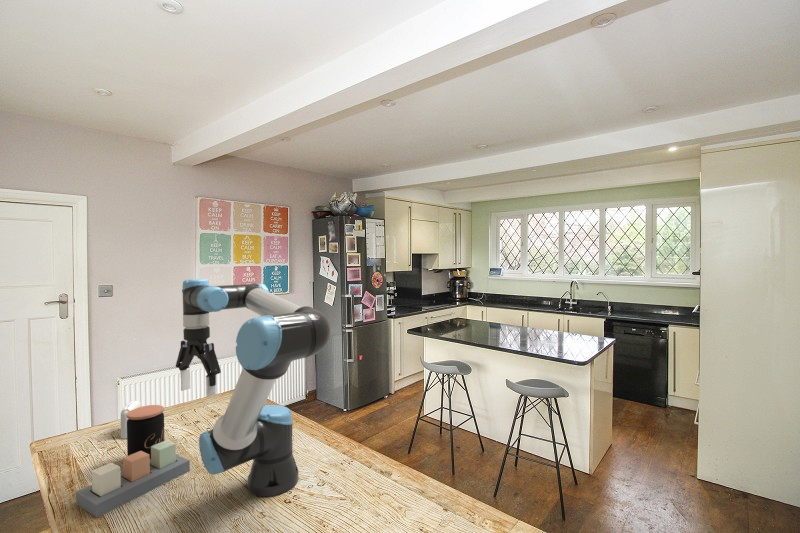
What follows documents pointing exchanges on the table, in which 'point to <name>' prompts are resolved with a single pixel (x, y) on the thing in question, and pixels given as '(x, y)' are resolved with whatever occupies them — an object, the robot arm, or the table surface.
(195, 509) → the table surface
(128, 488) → the slate panel
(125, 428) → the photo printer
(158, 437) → the coffee jar
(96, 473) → the cream button
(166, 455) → the sage button
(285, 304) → the robot arm
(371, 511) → the table surface
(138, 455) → the terracotta button
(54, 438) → the table surface
